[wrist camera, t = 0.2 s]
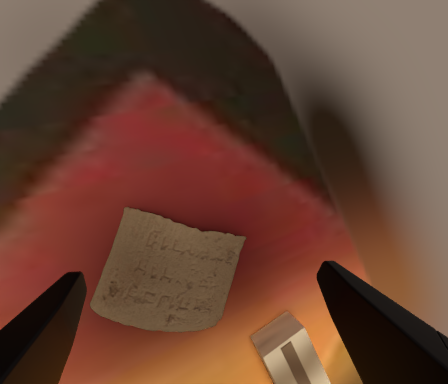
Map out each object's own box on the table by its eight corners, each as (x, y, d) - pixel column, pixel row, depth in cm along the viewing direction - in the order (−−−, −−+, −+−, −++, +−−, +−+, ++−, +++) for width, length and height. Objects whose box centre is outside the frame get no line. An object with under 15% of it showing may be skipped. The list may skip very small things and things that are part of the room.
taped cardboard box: (309, 359, 26) (332, 385, 23) (275, 387, 25) (293, 418, 21) (286, 309, 25) (305, 328, 22) (249, 335, 24) (263, 359, 21)
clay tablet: (249, 235, 25) (258, 239, 22) (226, 326, 24) (233, 342, 21) (114, 202, 22) (107, 202, 19) (82, 306, 21) (69, 322, 18)
